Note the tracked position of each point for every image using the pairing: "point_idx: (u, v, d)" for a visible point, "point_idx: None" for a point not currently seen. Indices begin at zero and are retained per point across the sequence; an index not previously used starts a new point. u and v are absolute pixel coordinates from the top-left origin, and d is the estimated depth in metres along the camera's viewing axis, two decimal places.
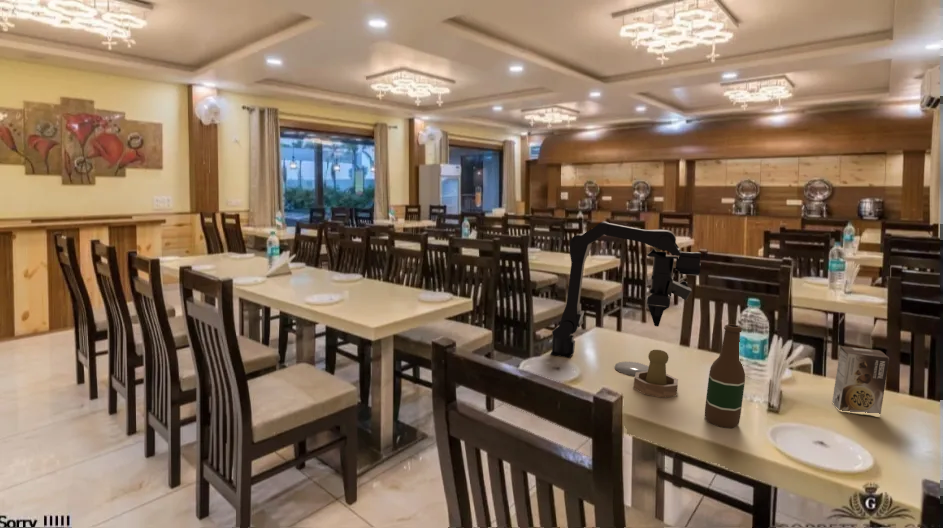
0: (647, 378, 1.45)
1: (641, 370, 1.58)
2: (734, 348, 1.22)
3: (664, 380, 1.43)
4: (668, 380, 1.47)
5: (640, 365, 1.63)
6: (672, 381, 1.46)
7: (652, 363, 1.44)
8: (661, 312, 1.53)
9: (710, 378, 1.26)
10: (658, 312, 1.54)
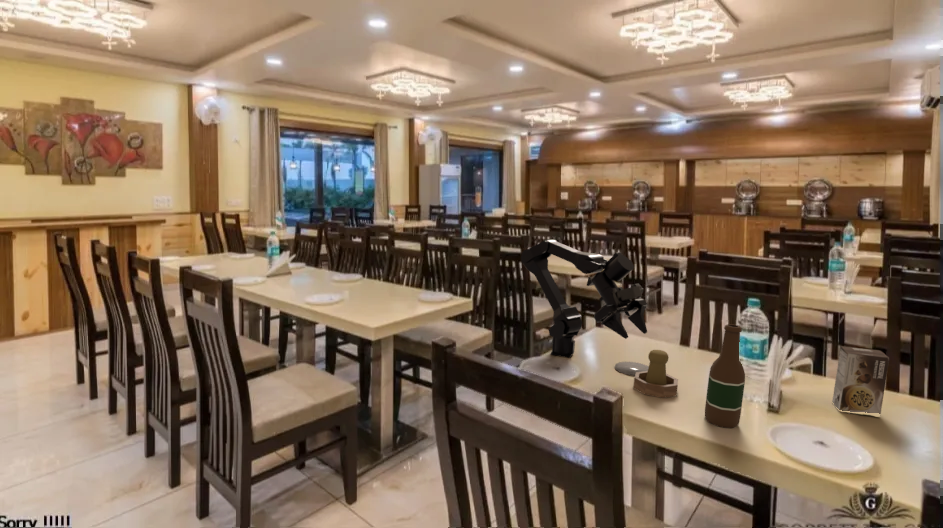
0: (647, 378, 1.45)
1: (641, 370, 1.58)
2: (734, 348, 1.22)
3: (664, 380, 1.43)
4: (668, 380, 1.47)
5: (640, 365, 1.63)
6: (672, 381, 1.46)
7: (652, 363, 1.44)
8: (617, 322, 1.47)
9: (710, 378, 1.26)
10: (616, 324, 1.48)
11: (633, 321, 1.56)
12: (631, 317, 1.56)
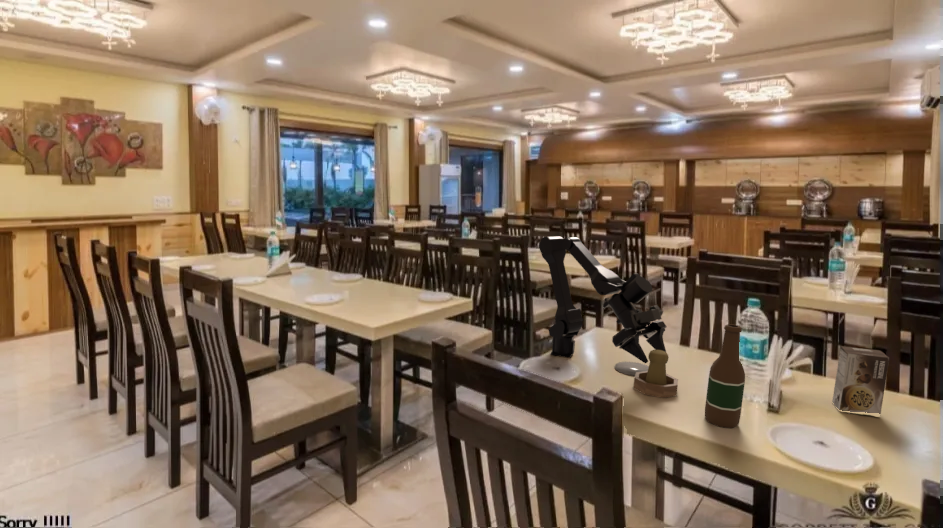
0: (647, 378, 1.45)
1: (641, 370, 1.58)
2: (734, 348, 1.22)
3: (664, 380, 1.43)
4: (668, 380, 1.47)
5: (640, 365, 1.63)
6: (672, 381, 1.46)
7: (652, 363, 1.44)
8: (636, 346, 1.43)
9: (710, 378, 1.26)
10: (635, 348, 1.43)
11: (652, 344, 1.51)
12: (650, 340, 1.52)
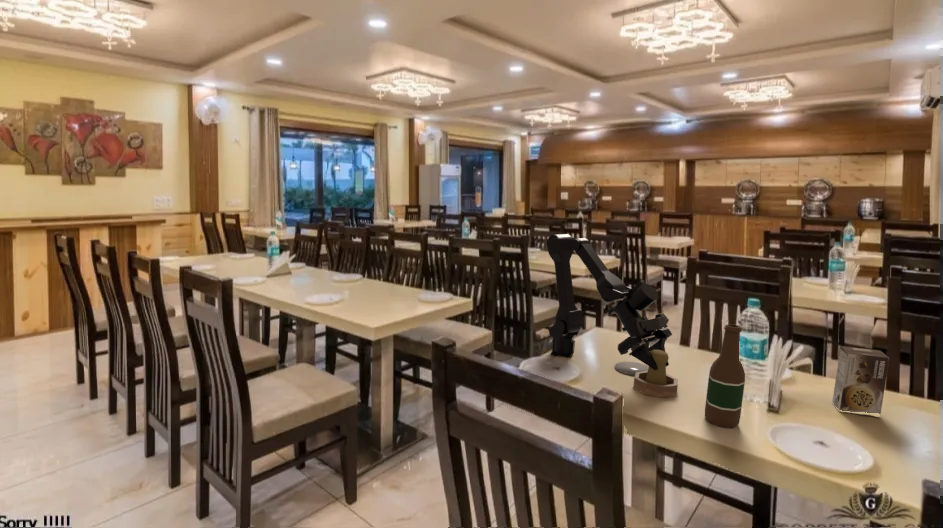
0: (647, 378, 1.45)
1: (641, 370, 1.58)
2: (734, 348, 1.22)
3: (664, 380, 1.43)
4: (668, 380, 1.47)
5: (640, 365, 1.63)
6: (672, 381, 1.46)
7: None
8: (646, 353, 1.43)
9: (710, 378, 1.26)
10: (645, 355, 1.43)
11: None
12: (651, 348, 1.49)
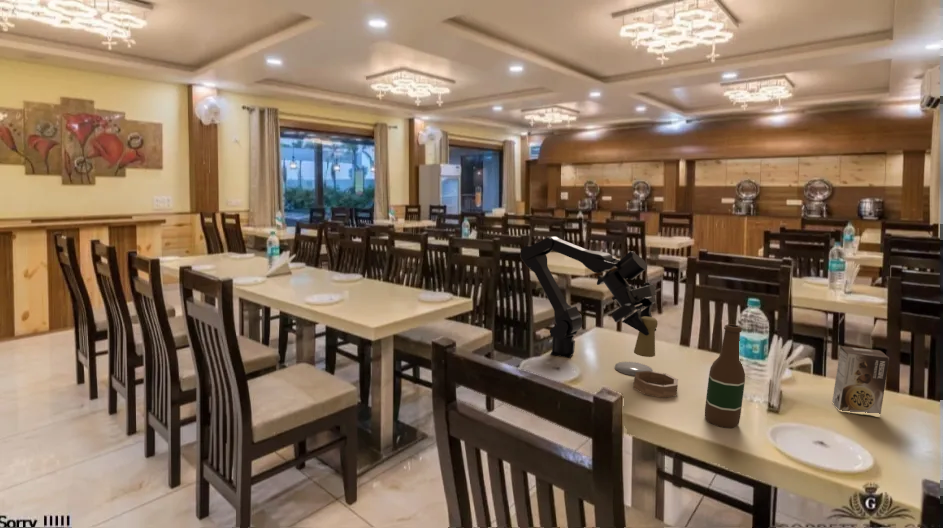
0: (638, 343, 1.53)
1: (641, 370, 1.58)
2: (734, 348, 1.22)
3: (654, 344, 1.52)
4: (668, 380, 1.47)
5: (640, 365, 1.63)
6: (672, 381, 1.46)
7: None
8: (638, 320, 1.50)
9: (710, 378, 1.26)
10: (637, 321, 1.51)
11: None
12: None
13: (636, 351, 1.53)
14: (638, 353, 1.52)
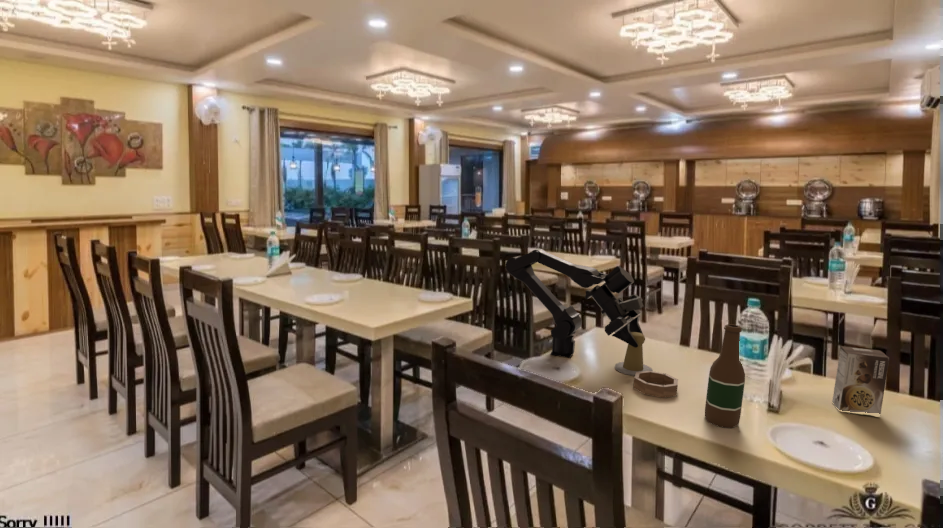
0: (627, 359, 1.59)
1: None
2: (734, 348, 1.22)
3: (642, 359, 1.58)
4: (668, 380, 1.47)
5: None
6: (672, 381, 1.46)
7: None
8: (628, 333, 1.54)
9: (710, 378, 1.26)
10: (626, 335, 1.55)
11: (629, 330, 1.64)
12: None
13: (626, 366, 1.59)
14: (628, 368, 1.58)
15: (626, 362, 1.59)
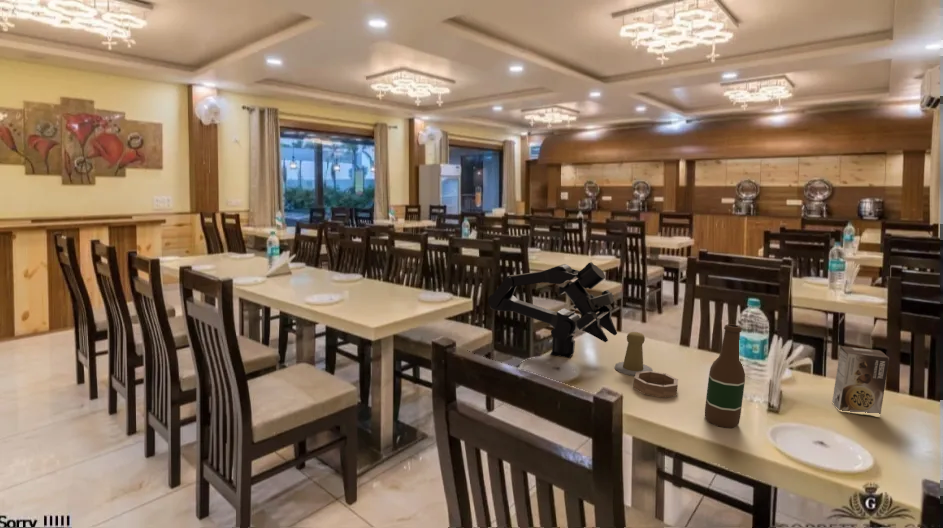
0: (627, 359, 1.59)
1: None
2: (734, 348, 1.22)
3: (642, 359, 1.58)
4: (668, 380, 1.47)
5: None
6: (672, 381, 1.46)
7: (632, 344, 1.58)
8: (598, 328, 1.58)
9: (710, 378, 1.26)
10: (596, 329, 1.59)
11: (602, 324, 1.69)
12: (600, 321, 1.70)
13: (626, 366, 1.59)
14: (628, 368, 1.58)
15: (626, 362, 1.59)
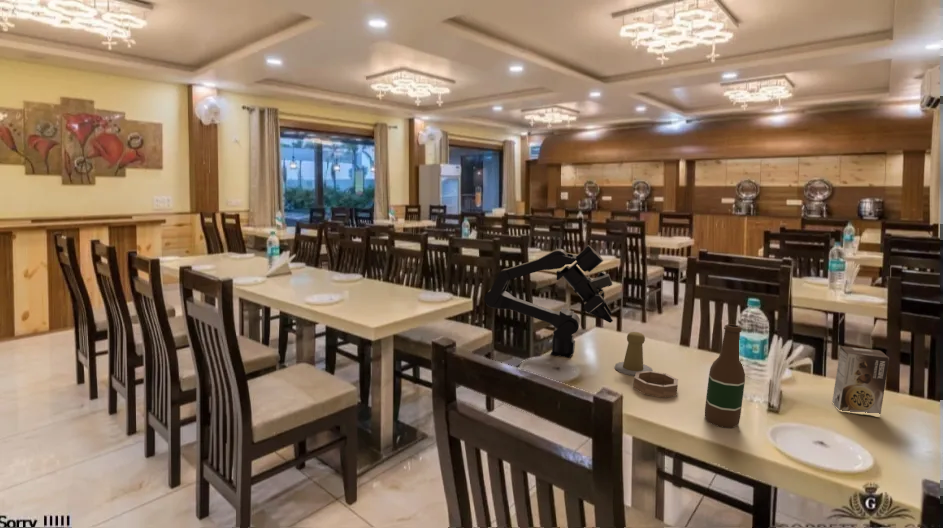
0: (627, 358, 1.59)
1: None
2: (734, 348, 1.22)
3: (642, 359, 1.58)
4: (668, 380, 1.47)
5: None
6: (672, 381, 1.46)
7: (632, 344, 1.58)
8: (604, 309, 1.61)
9: (710, 378, 1.26)
10: (602, 311, 1.62)
11: None
12: None
13: (626, 366, 1.59)
14: (628, 368, 1.58)
15: (626, 362, 1.59)
